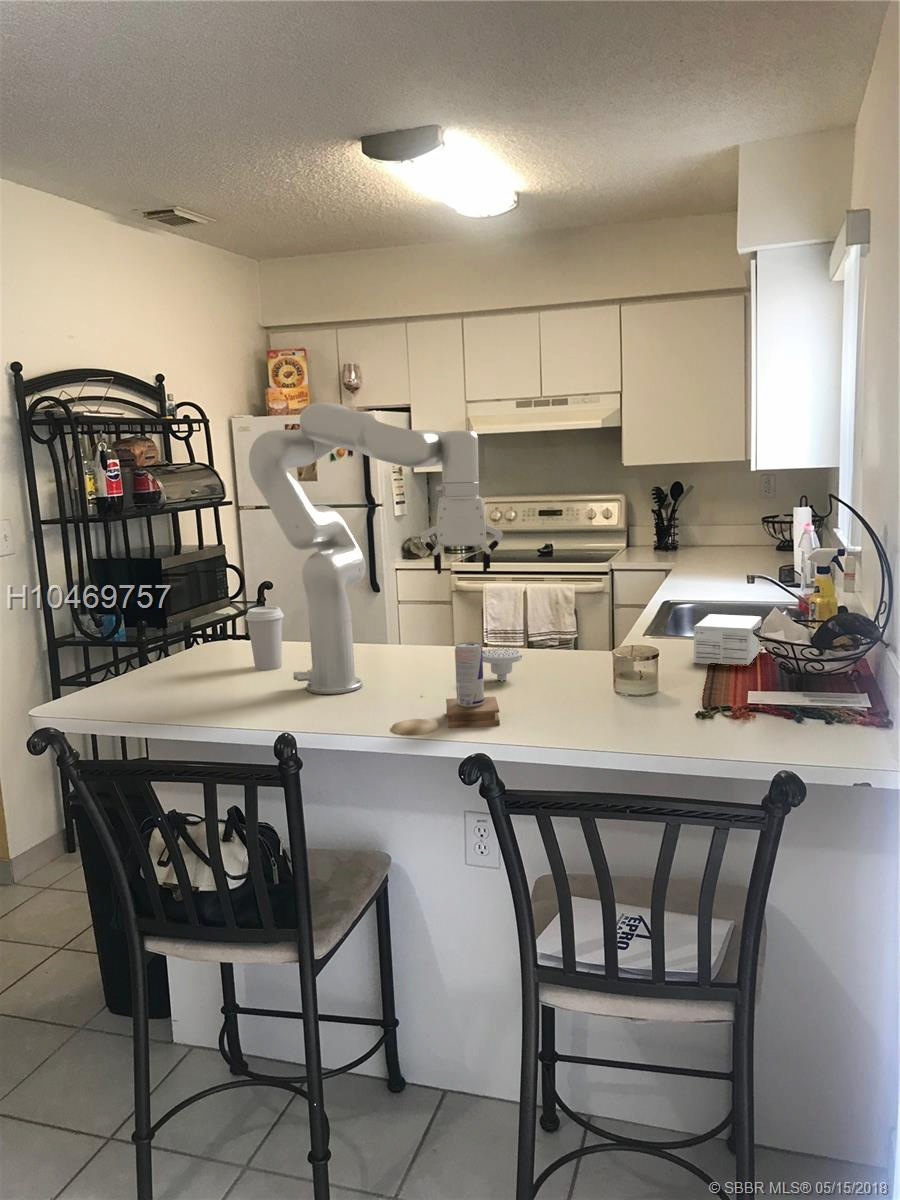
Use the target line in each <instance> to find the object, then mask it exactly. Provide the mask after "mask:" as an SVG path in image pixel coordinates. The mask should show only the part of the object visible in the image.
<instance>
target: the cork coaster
mask: <svg viewBox="0 0 900 1200" xmlns="http://www.w3.org/2000/svg"><path fill="white" fill-rule="evenodd" d="M439 728H440V727H439V723H438V722H437V721H435V720H431V719H425V718H412V719H405V720H401V721H398V722H395V723H394V724H392V725H391V730H392V732H393V733H395V734H397V735H402V736H420V735H421V736H422V735H427V734H431V733H433V732H435V731H437V730H438V729H439Z"/></svg>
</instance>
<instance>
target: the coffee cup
mask: <svg viewBox="0 0 900 1200" xmlns="http://www.w3.org/2000/svg"><path fill="white" fill-rule="evenodd" d="M284 617H285V615H284V613H283V611H282V609H281V608H280V607H279V606H274V605H273V606H269V605H268V606H257V607H252V608H249V609H248V610H247V613H246V615H245V617H244V618H245V619H244V620H245V621H247V625H248V626H247V627H248V631H249V640H250V644H251V651H252V655H253V656H252V657H253V662H254V668H255V670H256V669H257V671H272V670H273V669H274V670H277V668H278V669H280V668H282V653H283V652H282V648H283V647H282V645H283V641H282V639H283V637H282V636H283V634H282V633H283V618H284Z"/></svg>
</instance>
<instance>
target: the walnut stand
mask: <svg viewBox="0 0 900 1200" xmlns="http://www.w3.org/2000/svg"><path fill="white" fill-rule="evenodd" d="M445 703H446V708H445V709H446V721H447V728H450V729H451V728H452V729H453V728H468V727H469V728H471V727H472V728H473V727H492V726H500V725H501V723H500V722H501V721H500V716H499V713H500V707H499V705H498V701H497V698H496V696H484V703H483V705H481V706H479V707H472V708H466V707H461V706H459V705H458V704H457V697H454V698H446V699H445Z"/></svg>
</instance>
